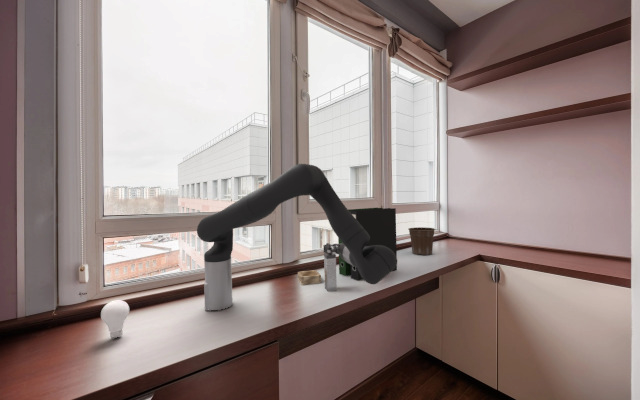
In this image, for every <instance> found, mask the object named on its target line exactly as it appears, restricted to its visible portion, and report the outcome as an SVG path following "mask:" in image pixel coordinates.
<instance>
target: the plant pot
mask: <svg viewBox="0 0 640 400" xmlns="http://www.w3.org/2000/svg"><path fill="white" fill-rule="evenodd" d="M435 230H436V229H435V227H420V226H419V227H409V228H408V232H409V237H410V243H411V252H412V254H414V255H417V256H419V255H421V256H430V255H432V254H433V249H434V248H433V247H434V245H433V244H434V235H435Z"/></svg>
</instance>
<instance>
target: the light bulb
mask: <svg viewBox="0 0 640 400" xmlns="http://www.w3.org/2000/svg"><path fill="white" fill-rule="evenodd" d="M129 313H130V306H129V304H128V303H127V302H126V301H125V300H121V299H115V300H112V301H109V302H108V303H106V304H105V305H104V306H103V308H102V309H101V312H100V318H101V320H102V322H103V323H104V324H105V325H106V326H107V329H108V332H109V337H110V339H113V338H117V337H119V338H120V337H122V336H123V334H124V333H123V328H124V323H125V322H126V319H127V318H128V316H129ZM117 339H118V338H117Z"/></svg>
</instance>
